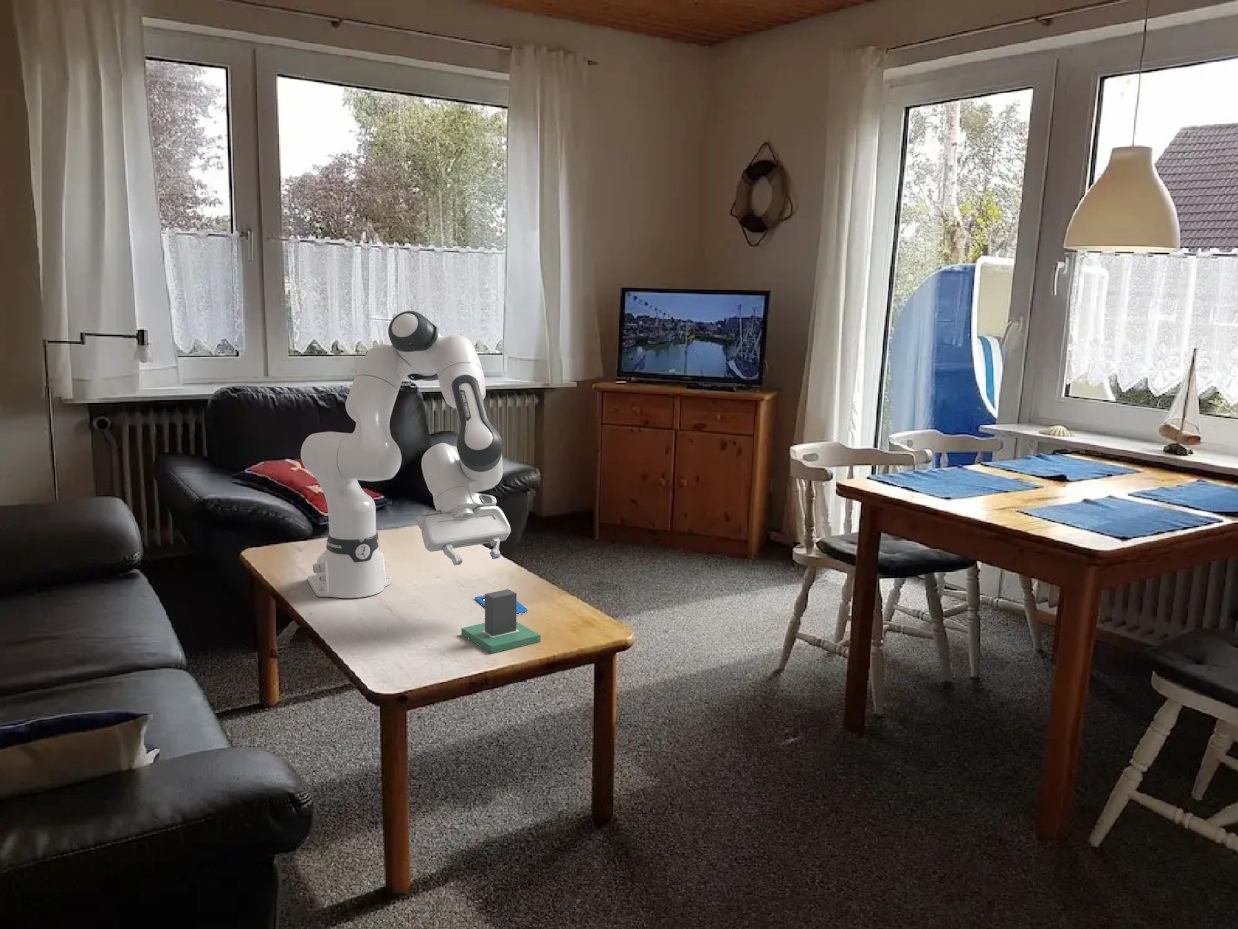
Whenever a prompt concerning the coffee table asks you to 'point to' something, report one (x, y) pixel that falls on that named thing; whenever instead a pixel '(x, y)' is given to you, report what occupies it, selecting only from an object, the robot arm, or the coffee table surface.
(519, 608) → the handheld gaming device
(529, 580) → the coffee table surface
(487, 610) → the block
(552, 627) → the coffee table surface
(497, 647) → the board
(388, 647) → the coffee table surface
